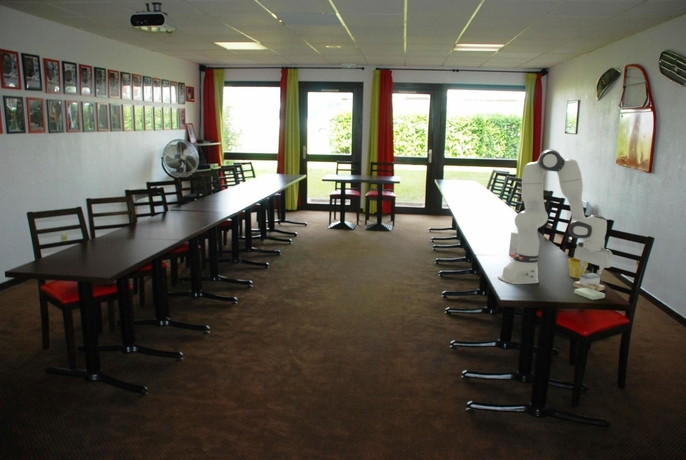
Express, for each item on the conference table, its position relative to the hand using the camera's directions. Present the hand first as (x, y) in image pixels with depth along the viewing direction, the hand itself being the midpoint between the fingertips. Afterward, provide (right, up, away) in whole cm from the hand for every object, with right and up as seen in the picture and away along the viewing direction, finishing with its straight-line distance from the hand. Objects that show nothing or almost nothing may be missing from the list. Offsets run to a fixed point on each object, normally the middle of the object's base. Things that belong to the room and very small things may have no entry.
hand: (591, 271), depth 287 cm
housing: (0, -7, +2) cm, 7 cm away
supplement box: (-17, +6, +67) cm, 69 cm away
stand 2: (-6, -11, -11) cm, 17 cm away
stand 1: (0, -9, +2) cm, 9 cm away
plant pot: (+1, -5, +22) cm, 22 cm away
